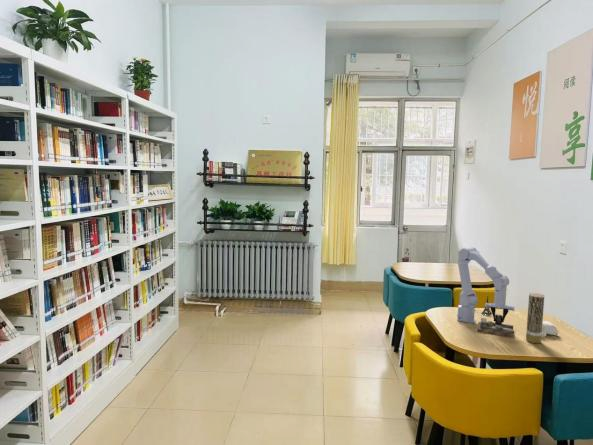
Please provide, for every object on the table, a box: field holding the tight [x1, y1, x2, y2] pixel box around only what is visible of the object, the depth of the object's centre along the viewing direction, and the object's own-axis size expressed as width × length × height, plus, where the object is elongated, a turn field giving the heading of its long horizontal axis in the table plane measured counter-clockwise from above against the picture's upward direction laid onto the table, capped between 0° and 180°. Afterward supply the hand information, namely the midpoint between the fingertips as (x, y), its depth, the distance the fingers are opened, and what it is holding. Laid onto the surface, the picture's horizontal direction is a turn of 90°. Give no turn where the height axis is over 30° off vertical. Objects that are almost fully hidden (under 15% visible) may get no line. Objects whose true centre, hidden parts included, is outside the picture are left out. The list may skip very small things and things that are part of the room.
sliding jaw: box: [494, 314, 503, 329], centre depth 223 cm, size 4×8×7 cm, turn 153°
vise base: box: [476, 317, 515, 339], centre depth 224 cm, size 18×14×5 cm
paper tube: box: [525, 292, 545, 344], centre depth 208 cm, size 7×7×25 cm
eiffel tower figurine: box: [475, 295, 493, 318], centre depth 255 cm, size 15×10×13 cm
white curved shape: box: [541, 320, 560, 338], centre depth 220 cm, size 9×8×15 cm
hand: (498, 321), depth 223 cm, fingers closed on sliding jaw, 3 cm apart
